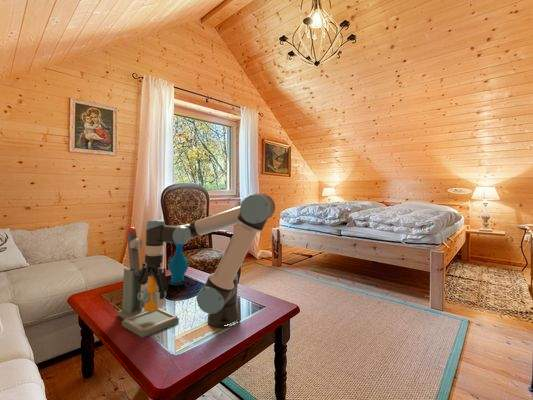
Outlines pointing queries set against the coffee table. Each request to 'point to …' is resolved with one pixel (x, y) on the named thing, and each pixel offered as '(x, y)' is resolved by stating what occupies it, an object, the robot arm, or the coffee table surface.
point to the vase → (178, 265)
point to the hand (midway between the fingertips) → (151, 301)
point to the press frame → (141, 310)
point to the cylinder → (150, 295)
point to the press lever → (134, 250)
